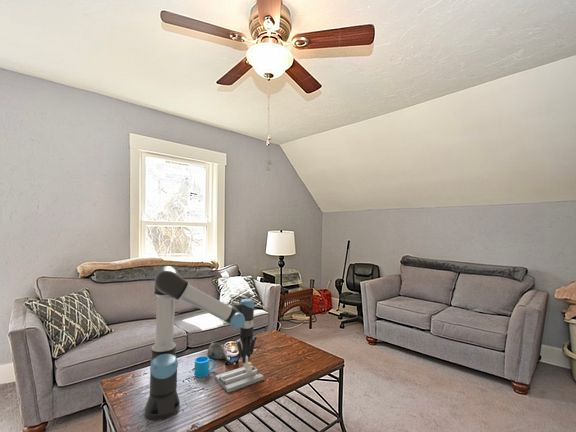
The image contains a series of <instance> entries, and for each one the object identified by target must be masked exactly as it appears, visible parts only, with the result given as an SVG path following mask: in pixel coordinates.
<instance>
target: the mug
mask: <svg viewBox="0 0 576 432" xmlns="http://www.w3.org/2000/svg"><path fill="white" fill-rule="evenodd" d="M210 362H212V363H213V365H212V366H211V368H210ZM215 367H216V361H215V360H214V359H213V358H210V357H207V355H206V356H205V355H204V356H203V355H202V356H198V357H196V358H195V359H194V372H193V373H194V375H193V376H194V377H196V378H204V377H207V376H208V375H209V372H211V371H212V370H214V368H215Z"/></svg>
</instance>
